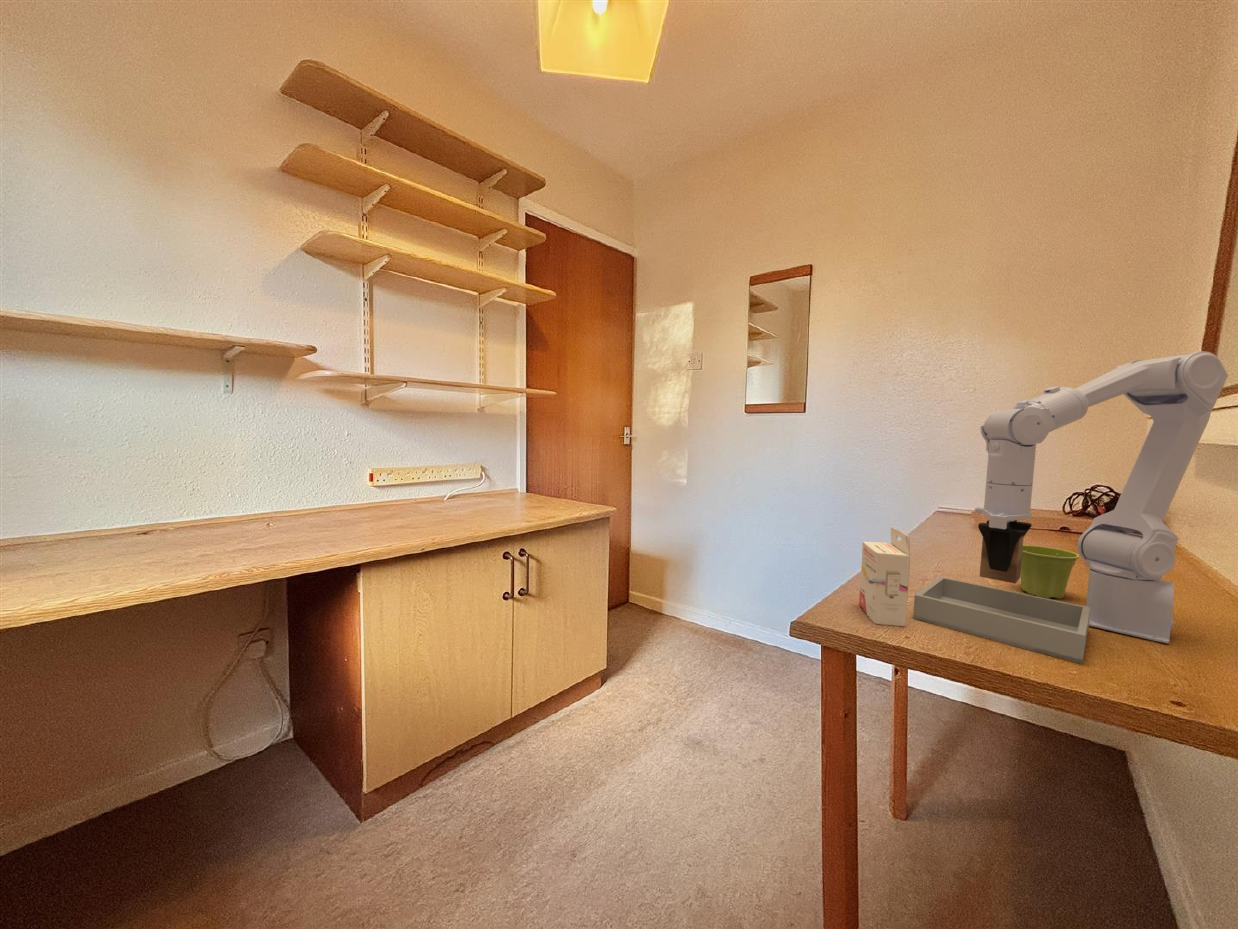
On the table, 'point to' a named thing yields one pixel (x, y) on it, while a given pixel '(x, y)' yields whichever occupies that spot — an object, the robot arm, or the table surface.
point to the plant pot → (1046, 570)
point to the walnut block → (1008, 576)
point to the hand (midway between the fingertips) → (1001, 567)
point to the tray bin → (1006, 617)
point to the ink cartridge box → (885, 579)
